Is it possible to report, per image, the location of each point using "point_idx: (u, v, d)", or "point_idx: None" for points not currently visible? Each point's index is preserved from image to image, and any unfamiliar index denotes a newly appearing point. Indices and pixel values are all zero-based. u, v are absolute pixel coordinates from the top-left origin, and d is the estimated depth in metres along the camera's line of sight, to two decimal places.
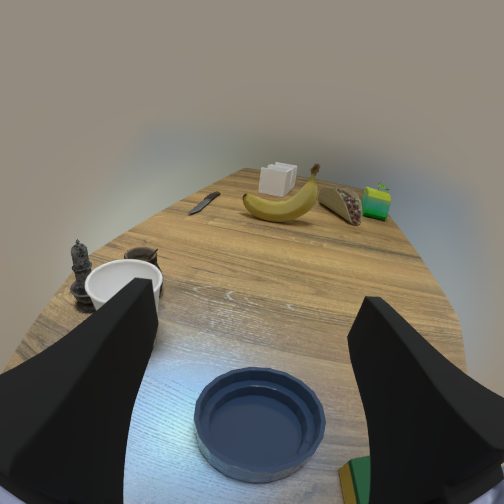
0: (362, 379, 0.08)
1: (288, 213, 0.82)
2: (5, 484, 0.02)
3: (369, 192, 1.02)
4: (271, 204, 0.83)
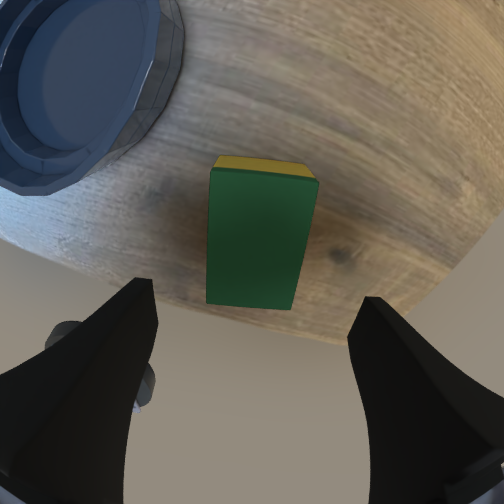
0: (362, 379, 0.08)
1: None
2: (5, 484, 0.02)
3: None
4: None
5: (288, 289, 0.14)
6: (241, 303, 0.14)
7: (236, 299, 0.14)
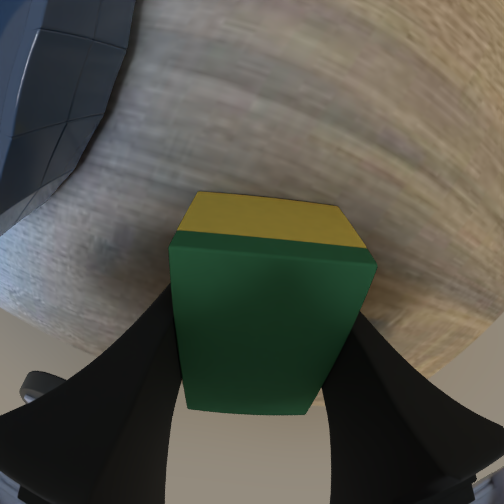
0: (325, 381, 0.08)
1: None
2: None
3: None
4: None
5: (305, 398, 0.08)
6: (236, 411, 0.09)
7: (228, 408, 0.09)
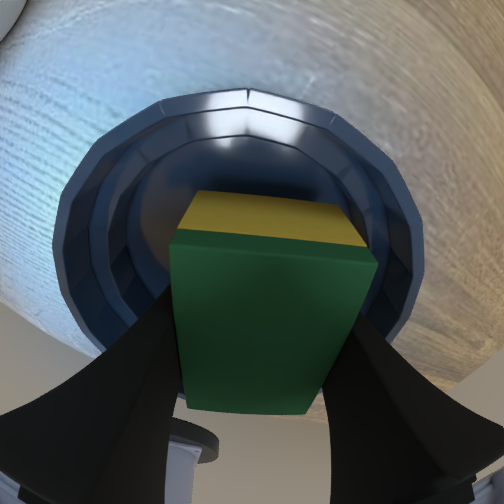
0: (325, 381, 0.08)
1: None
2: None
3: None
4: None
5: (305, 398, 0.08)
6: (236, 410, 0.09)
7: (229, 408, 0.09)
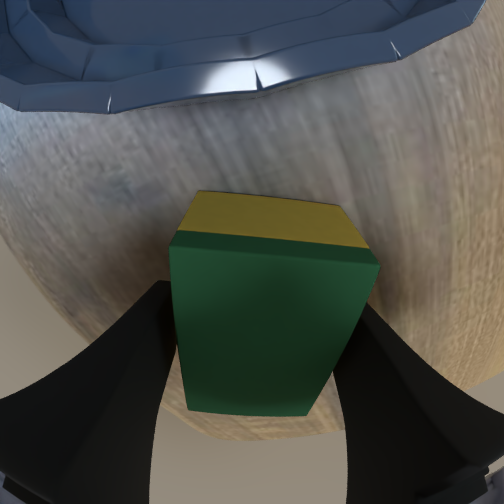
0: (341, 380, 0.08)
1: None
2: (32, 502, 0.02)
3: None
4: None
5: (306, 400, 0.08)
6: (237, 412, 0.09)
7: (229, 409, 0.09)
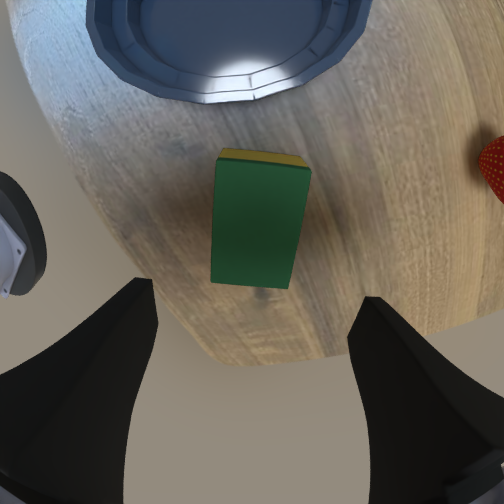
0: (362, 379, 0.08)
1: None
2: (4, 484, 0.02)
3: None
4: None
5: (285, 268, 0.15)
6: (242, 282, 0.16)
7: (237, 278, 0.16)
